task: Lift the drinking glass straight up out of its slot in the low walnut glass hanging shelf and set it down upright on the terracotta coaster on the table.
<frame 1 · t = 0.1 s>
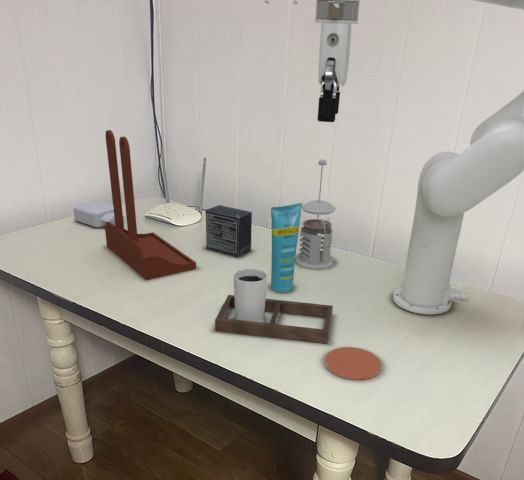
hand: (328, 117, 108), 37 cm above the table, tool pointing down, fingers open, 9 cm apart
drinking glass: (249, 321, 114), on the table
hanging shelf: (150, 258, 141), on the table
coaster: (352, 364, 101), on the table
rack: (275, 323, 114), on the table
french press: (315, 263, 142), on the table
tube: (282, 288, 128), on the table
charger: (105, 224, 162), on the table
small box: (229, 250, 147), on the table
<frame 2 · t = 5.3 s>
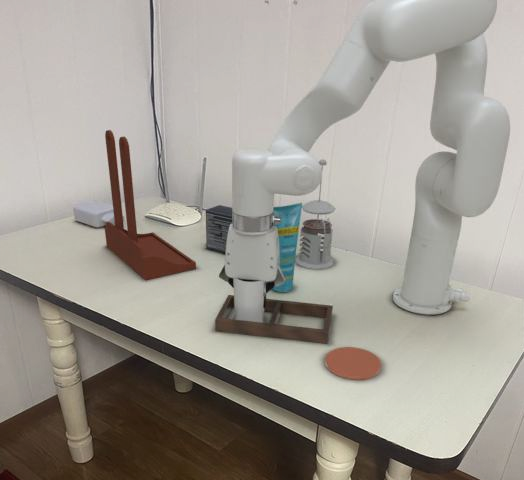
hand: (251, 309, 113), 3 cm above the table, tool pointing down, fingers closed on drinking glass, 2 cm apart
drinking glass: (249, 321, 114), on the table, touching gripper
everything else where it was.
when the fingers open (3 cm above the table, at t = 11.8 s): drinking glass stays where it is, resting on coaster.
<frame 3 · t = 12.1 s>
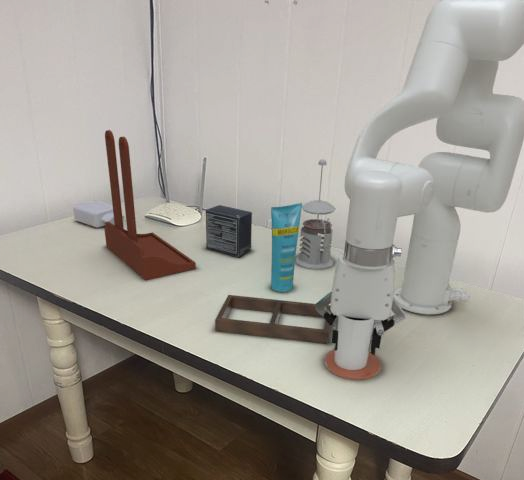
hand: (354, 347, 100), 3 cm above the table, tool pointing down, fingers open, 5 cm apart
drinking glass: (350, 362, 101), resting on coaster
everything else where it was.
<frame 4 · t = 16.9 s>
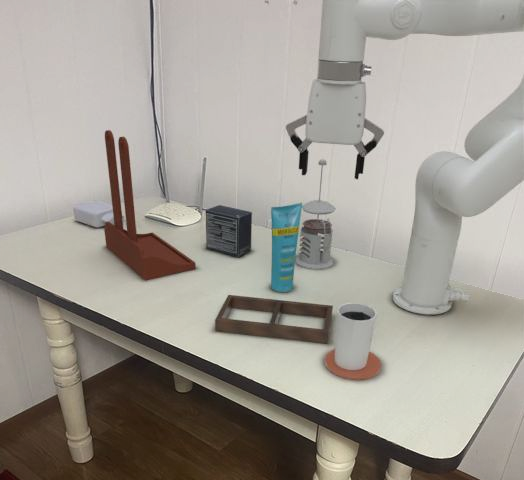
hand: (330, 175, 104), 28 cm above the table, tool pointing down, fingers open, 9 cm apart
nothing on the table moved.
at the end: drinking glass 0.5 cm off-centre on the coaster, point 0.4 cm above the coaster's base; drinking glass tilted 0°; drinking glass touching coaster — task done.
